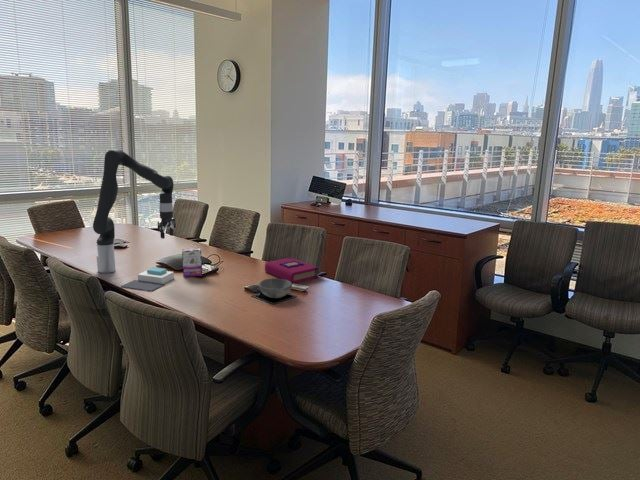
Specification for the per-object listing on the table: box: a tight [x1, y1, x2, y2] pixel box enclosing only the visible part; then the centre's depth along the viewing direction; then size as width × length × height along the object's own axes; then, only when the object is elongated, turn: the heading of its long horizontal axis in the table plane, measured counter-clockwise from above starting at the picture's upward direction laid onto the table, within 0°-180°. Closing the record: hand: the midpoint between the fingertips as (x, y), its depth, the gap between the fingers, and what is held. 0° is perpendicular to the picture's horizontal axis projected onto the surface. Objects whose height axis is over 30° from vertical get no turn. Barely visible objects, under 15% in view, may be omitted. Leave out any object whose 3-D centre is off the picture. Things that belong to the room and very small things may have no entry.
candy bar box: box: [181, 247, 203, 278], centre depth 288 cm, size 11×5×16 cm, turn 105°
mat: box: [120, 279, 166, 292], centre depth 268 cm, size 20×12×1 cm, turn 73°
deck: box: [137, 270, 175, 284], centre depth 279 cm, size 16×12×4 cm
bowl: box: [258, 277, 293, 299], centre depth 258 cm, size 18×18×8 cm
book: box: [264, 257, 319, 284], centre depth 296 cm, size 21×28×8 cm
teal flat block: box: [146, 267, 168, 275], centre depth 279 cm, size 9×6×2 cm, turn 73°
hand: (167, 236), depth 284 cm, fingers open, 8 cm apart
